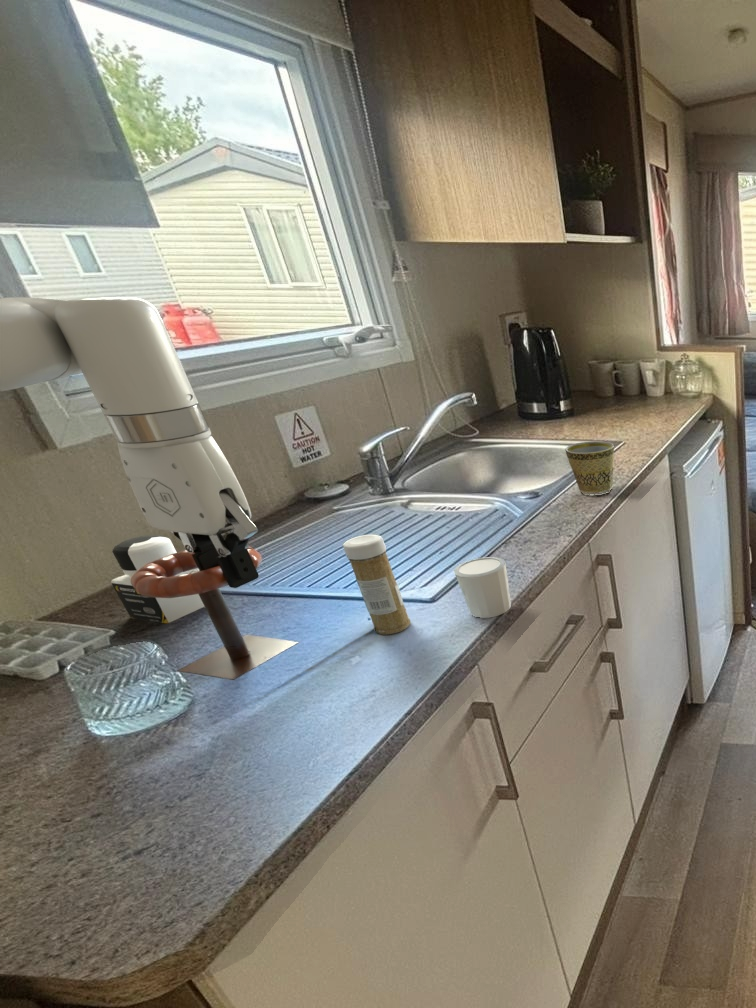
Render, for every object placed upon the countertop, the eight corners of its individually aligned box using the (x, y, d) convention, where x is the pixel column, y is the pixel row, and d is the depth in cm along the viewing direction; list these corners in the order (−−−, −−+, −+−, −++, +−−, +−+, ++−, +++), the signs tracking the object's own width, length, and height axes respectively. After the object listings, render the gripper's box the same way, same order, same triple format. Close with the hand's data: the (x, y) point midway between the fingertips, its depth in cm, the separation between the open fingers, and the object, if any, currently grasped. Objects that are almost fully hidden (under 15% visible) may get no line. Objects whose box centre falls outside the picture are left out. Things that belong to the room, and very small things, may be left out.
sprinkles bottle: (417, 619, 94) (389, 533, 88) (400, 636, 90) (369, 546, 84) (386, 620, 94) (355, 533, 88) (367, 636, 90) (333, 546, 84)
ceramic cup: (614, 498, 140) (607, 452, 136) (567, 499, 140) (558, 453, 136) (627, 480, 152) (621, 437, 147) (584, 481, 152) (576, 438, 147)
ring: (110, 599, 75) (99, 580, 73) (206, 556, 85) (198, 539, 84) (200, 603, 73) (190, 584, 72) (287, 560, 83) (279, 542, 82)
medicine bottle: (133, 624, 94) (90, 548, 88) (185, 602, 100) (147, 528, 94) (171, 630, 92) (129, 552, 87) (221, 606, 99) (185, 532, 93)
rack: (180, 678, 82) (129, 584, 76) (249, 641, 90) (207, 553, 83) (237, 687, 80) (189, 591, 74) (302, 649, 88) (264, 559, 81)
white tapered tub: (467, 602, 99) (455, 560, 96) (515, 594, 101) (505, 553, 98) (464, 623, 93) (451, 579, 90) (515, 615, 95) (504, 571, 92)
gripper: (62, 431, 68) (147, 589, 77) (182, 438, 64) (257, 603, 73) (141, 415, 74) (212, 562, 83) (255, 421, 71) (316, 574, 79)
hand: (233, 580), depth 78 cm, fingers closed on ring, 2 cm apart
